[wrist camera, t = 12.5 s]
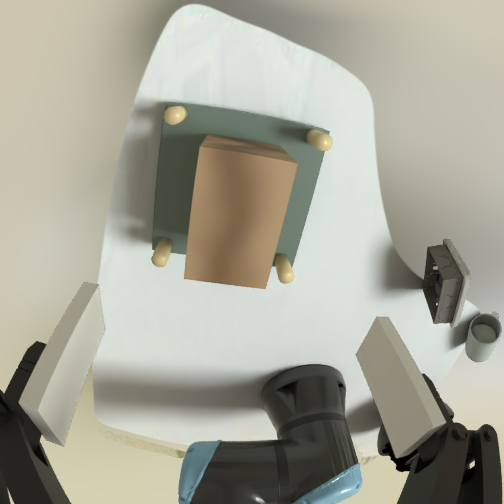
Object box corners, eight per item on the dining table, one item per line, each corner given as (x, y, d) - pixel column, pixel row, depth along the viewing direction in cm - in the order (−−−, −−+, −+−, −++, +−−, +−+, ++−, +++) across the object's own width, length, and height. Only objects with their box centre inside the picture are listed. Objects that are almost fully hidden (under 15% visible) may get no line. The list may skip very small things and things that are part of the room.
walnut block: (280, 146, 27) (297, 163, 20) (257, 245, 33) (265, 289, 26) (208, 133, 26) (199, 146, 19) (193, 236, 31) (184, 278, 24)
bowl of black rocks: (360, 432, 63) (377, 491, 47) (379, 393, 54) (407, 466, 37) (422, 412, 64) (444, 464, 47) (450, 370, 54) (482, 430, 38)
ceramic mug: (458, 347, 50) (475, 372, 43) (462, 324, 46) (482, 350, 39) (492, 325, 48) (509, 346, 42) (497, 300, 44) (518, 322, 38)
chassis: (325, 129, 28) (341, 135, 24) (289, 262, 36) (297, 286, 31) (169, 102, 26) (157, 102, 21) (155, 243, 33) (144, 266, 29)
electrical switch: (440, 286, 40) (466, 325, 32) (413, 293, 41) (436, 335, 33) (447, 235, 36) (481, 271, 28) (418, 241, 36) (449, 280, 28)
